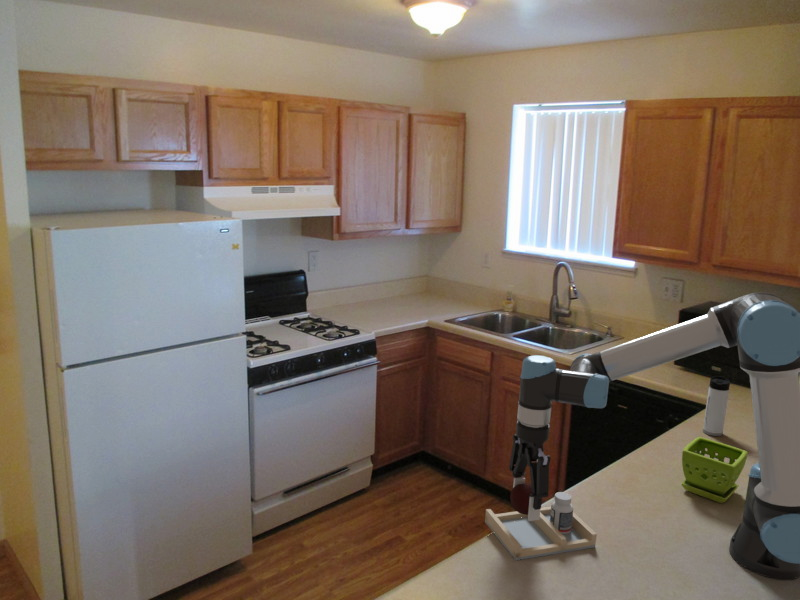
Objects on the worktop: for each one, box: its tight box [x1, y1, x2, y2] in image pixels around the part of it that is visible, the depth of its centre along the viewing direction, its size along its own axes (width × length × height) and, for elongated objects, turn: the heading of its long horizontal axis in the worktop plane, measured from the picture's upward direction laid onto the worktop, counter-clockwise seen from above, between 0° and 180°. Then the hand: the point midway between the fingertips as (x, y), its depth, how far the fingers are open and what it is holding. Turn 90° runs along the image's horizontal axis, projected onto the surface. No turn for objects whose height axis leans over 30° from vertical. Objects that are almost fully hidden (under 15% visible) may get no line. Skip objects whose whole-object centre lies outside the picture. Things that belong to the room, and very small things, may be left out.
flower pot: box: [681, 436, 749, 504], centre depth 177 cm, size 14×14×13 cm
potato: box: [509, 482, 543, 515], centre depth 151 cm, size 7×8×7 cm
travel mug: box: [702, 375, 731, 437], centre depth 219 cm, size 6×7×20 cm
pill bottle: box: [550, 491, 574, 534], centre depth 155 cm, size 5×5×9 cm
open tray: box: [484, 506, 598, 561], centre depth 154 cm, size 16×21×4 cm
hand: (525, 510), depth 152 cm, fingers closed on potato, 7 cm apart
